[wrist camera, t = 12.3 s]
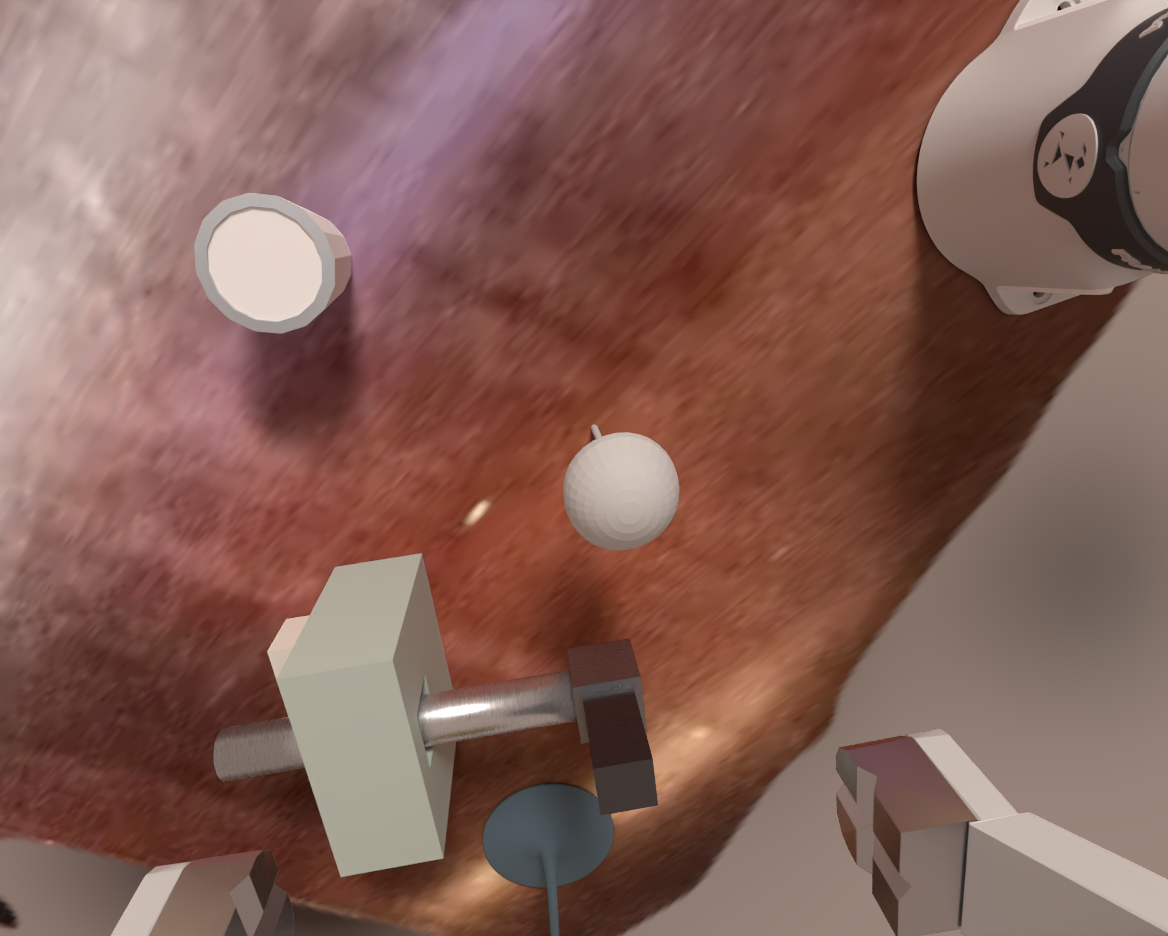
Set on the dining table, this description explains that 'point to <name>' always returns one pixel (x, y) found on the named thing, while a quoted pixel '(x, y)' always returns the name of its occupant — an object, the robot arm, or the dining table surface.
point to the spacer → (285, 642)
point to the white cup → (270, 262)
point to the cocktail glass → (547, 839)
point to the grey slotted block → (372, 714)
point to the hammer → (506, 723)
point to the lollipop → (620, 490)
